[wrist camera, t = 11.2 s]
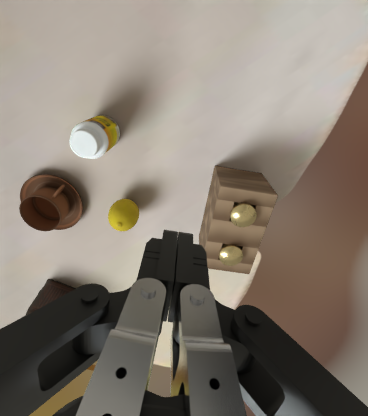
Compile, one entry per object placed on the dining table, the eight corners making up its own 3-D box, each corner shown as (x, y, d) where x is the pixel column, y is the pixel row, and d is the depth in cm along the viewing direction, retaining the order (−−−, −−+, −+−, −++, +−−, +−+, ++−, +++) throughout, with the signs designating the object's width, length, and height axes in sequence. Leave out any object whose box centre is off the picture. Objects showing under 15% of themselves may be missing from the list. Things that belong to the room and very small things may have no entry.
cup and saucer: (29, 162, 48) (8, 173, 42) (91, 184, 50) (79, 198, 44) (23, 213, 53) (3, 229, 48) (79, 232, 55) (67, 249, 49)
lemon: (146, 212, 52) (139, 234, 45) (122, 219, 53) (111, 241, 46) (135, 189, 50) (126, 207, 43) (110, 197, 51) (97, 216, 44)
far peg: (216, 216, 51) (222, 245, 42) (236, 219, 51) (245, 248, 42) (212, 233, 53) (217, 264, 44) (231, 236, 53) (239, 267, 44)
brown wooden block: (214, 165, 47) (220, 186, 38) (261, 173, 48) (278, 195, 39) (199, 236, 55) (200, 267, 46) (239, 242, 55) (249, 274, 46)
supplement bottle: (121, 117, 44) (103, 128, 35) (119, 149, 46) (102, 166, 37) (89, 111, 43) (62, 120, 34) (89, 143, 46) (64, 160, 37)
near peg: (226, 179, 47) (234, 203, 39) (247, 183, 47) (259, 207, 39) (221, 199, 49) (228, 225, 40) (241, 202, 49) (252, 229, 41)
